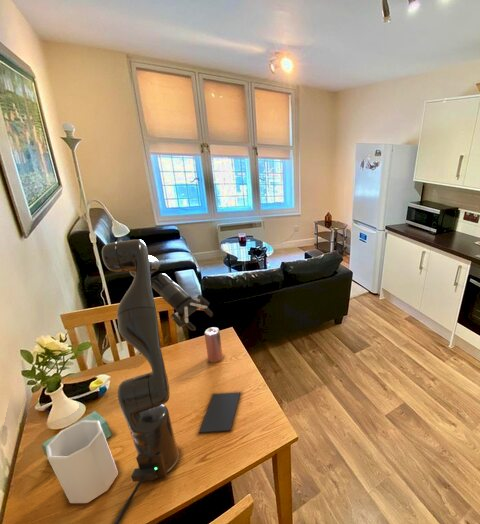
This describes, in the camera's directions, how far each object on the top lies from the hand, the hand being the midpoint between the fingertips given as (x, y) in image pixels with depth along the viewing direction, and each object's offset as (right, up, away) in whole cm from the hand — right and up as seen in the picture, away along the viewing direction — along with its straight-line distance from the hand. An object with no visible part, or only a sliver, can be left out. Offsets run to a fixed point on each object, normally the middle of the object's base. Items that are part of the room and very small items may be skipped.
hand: (203, 322), depth 120 cm
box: (-23, -33, -30) cm, 50 cm away
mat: (+14, -30, -14) cm, 36 cm away
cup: (-12, -38, -38) cm, 55 cm away
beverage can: (0, -19, +10) cm, 21 cm away
